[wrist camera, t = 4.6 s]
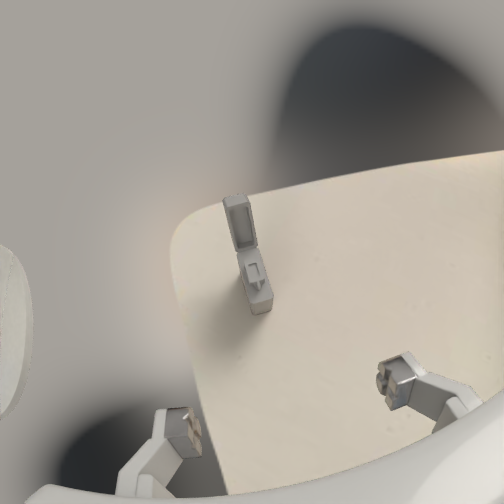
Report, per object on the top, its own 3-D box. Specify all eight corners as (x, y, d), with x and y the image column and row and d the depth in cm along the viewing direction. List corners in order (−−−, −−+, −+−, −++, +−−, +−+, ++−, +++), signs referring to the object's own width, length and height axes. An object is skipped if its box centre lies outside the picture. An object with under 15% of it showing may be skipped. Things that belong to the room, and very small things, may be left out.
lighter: (272, 310, 25) (276, 282, 18) (252, 315, 25) (248, 290, 18) (249, 237, 28) (245, 187, 20) (231, 242, 28) (220, 193, 20)
